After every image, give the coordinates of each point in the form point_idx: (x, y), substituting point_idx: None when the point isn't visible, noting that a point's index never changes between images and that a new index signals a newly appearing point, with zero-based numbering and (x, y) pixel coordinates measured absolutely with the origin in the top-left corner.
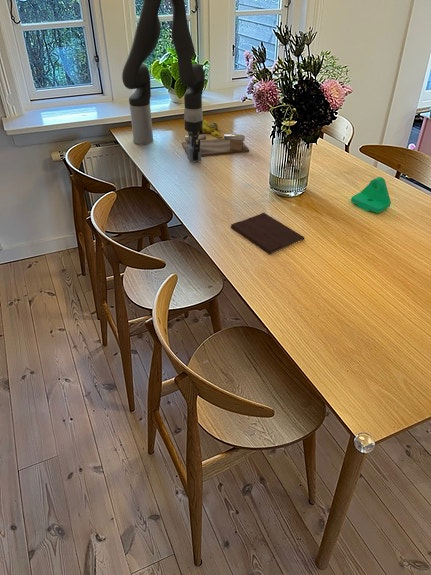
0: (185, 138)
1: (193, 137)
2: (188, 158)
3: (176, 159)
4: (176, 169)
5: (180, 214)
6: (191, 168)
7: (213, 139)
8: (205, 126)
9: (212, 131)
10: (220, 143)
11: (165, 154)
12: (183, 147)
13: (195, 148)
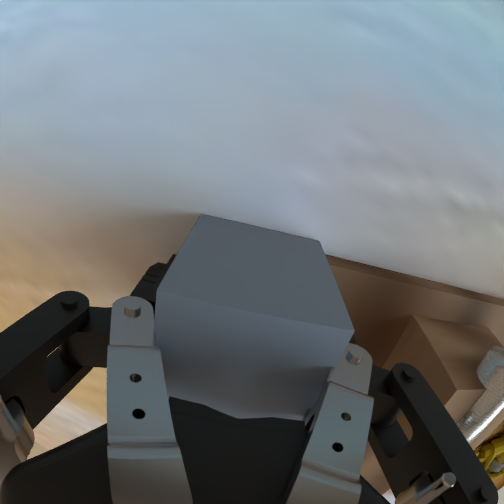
0: None
1: (5, 484)
2: (268, 235)
3: (347, 123)
4: (108, 37)
5: None
6: (75, 175)
7: None
8: None
9: (481, 456)
10: (362, 472)
11: (491, 102)
12: (500, 299)
13: None
